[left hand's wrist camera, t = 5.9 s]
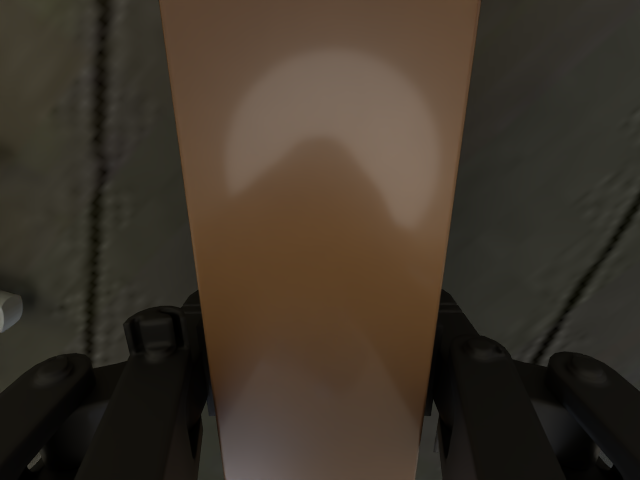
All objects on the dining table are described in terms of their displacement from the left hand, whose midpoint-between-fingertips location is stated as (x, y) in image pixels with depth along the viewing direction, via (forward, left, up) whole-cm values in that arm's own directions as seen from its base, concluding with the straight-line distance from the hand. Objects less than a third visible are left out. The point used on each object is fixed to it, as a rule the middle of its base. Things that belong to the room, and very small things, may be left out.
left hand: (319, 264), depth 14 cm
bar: (-3, +25, -1) cm, 25 cm away
